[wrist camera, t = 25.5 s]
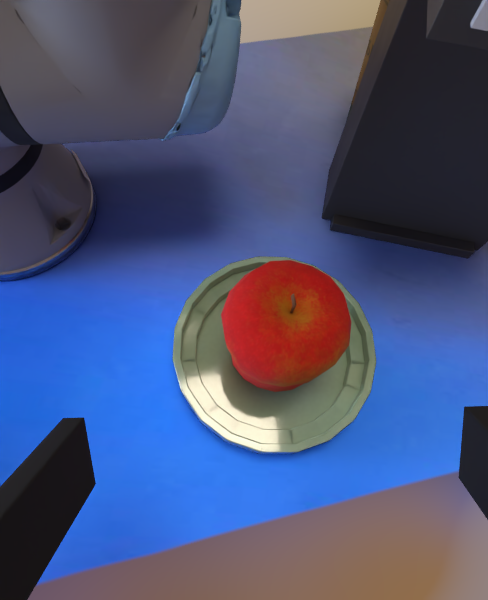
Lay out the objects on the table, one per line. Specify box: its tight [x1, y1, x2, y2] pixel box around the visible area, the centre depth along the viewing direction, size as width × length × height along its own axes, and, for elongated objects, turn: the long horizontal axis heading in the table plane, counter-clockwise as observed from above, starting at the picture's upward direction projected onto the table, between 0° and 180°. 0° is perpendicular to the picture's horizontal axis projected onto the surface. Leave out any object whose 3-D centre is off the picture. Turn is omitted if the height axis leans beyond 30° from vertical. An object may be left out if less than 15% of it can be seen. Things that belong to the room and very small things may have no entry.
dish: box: [173, 257, 376, 454], centre depth 34 cm, size 16×16×3 cm
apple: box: [221, 260, 352, 392], centre depth 29 cm, size 9×8×12 cm
